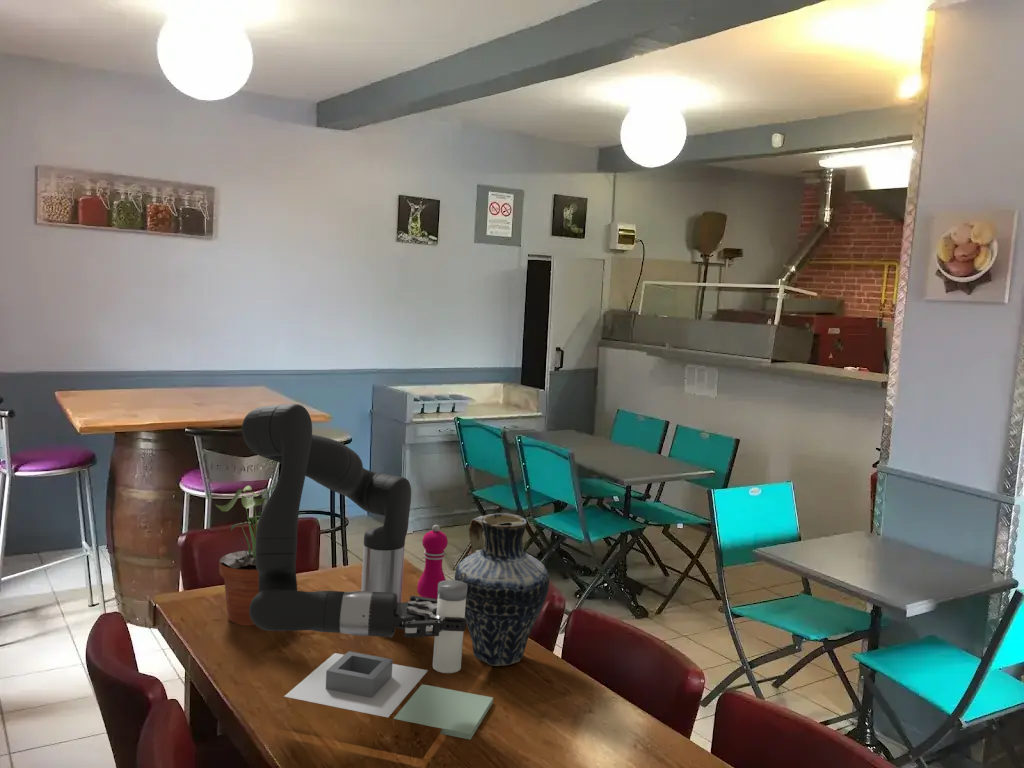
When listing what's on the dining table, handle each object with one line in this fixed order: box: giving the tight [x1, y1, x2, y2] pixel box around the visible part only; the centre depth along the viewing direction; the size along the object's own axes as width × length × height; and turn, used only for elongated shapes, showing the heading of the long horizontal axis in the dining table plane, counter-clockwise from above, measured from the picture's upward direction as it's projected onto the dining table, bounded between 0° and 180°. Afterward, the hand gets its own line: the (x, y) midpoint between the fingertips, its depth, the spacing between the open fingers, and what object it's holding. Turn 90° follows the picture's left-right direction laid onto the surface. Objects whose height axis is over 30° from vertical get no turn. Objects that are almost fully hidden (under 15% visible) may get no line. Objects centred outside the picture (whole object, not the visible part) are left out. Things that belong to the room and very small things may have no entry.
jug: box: [454, 512, 550, 667], centre depth 173 cm, size 21×19×30 cm
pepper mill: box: [416, 524, 449, 604], centre depth 200 cm, size 7×7×20 cm
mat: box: [393, 683, 494, 740], centre depth 150 cm, size 14×14×1 cm
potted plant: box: [215, 482, 277, 627], centre depth 186 cm, size 16×15×35 cm
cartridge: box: [432, 579, 468, 674], centre depth 148 cm, size 5×5×15 cm
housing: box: [283, 650, 429, 718], centre depth 157 cm, size 20×20×4 cm
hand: (465, 618), depth 148 cm, fingers closed on cartridge, 5 cm apart
